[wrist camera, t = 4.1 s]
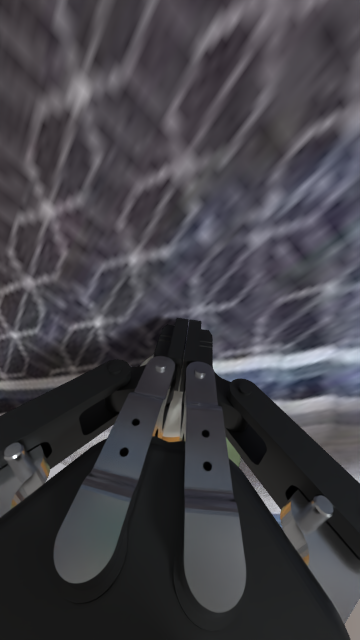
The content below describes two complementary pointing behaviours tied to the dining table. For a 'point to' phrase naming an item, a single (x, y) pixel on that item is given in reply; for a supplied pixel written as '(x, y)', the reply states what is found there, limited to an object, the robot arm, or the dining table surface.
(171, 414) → the white ball
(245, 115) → the dining table surface
